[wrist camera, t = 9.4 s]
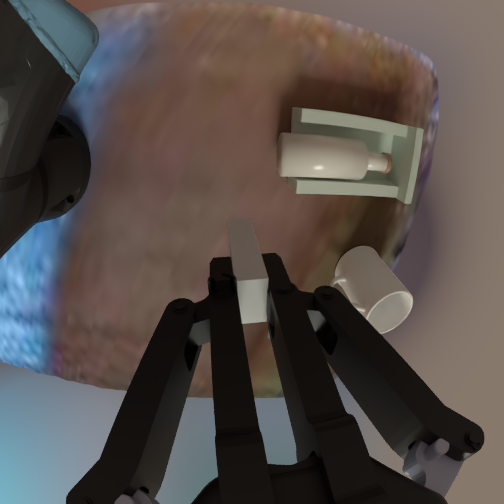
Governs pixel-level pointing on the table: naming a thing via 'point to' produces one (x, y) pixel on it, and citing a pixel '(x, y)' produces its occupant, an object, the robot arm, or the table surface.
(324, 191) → the cradle
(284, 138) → the bottle
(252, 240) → the robot arm
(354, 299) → the mug
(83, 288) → the table surface
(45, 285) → the table surface
